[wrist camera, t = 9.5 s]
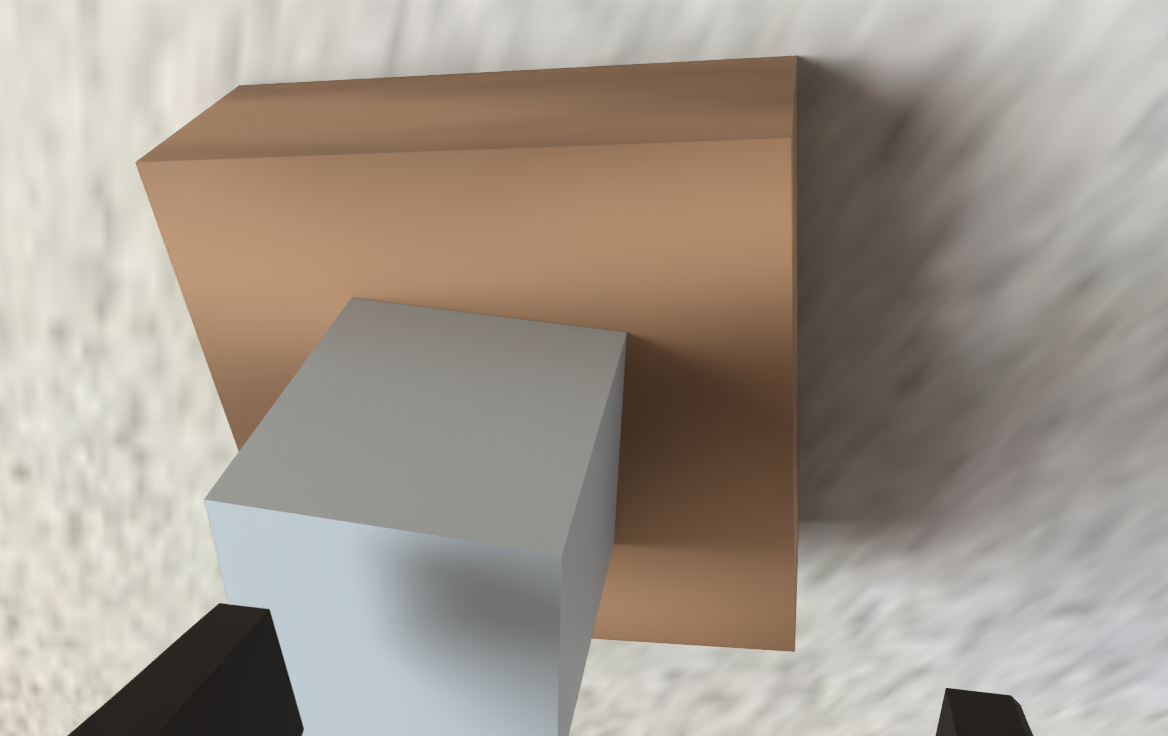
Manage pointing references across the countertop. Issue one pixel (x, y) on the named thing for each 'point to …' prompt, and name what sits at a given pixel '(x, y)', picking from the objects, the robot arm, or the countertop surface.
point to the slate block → (431, 520)
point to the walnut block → (539, 280)
